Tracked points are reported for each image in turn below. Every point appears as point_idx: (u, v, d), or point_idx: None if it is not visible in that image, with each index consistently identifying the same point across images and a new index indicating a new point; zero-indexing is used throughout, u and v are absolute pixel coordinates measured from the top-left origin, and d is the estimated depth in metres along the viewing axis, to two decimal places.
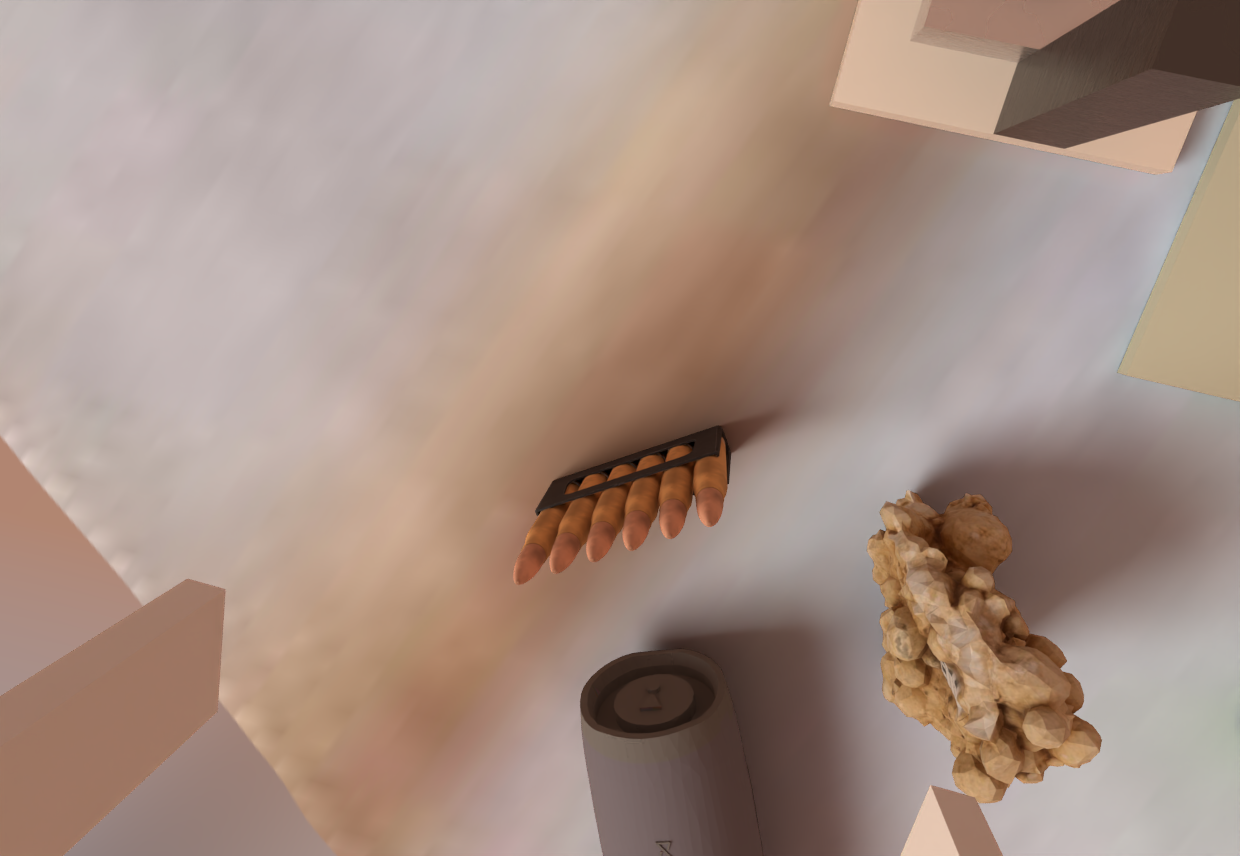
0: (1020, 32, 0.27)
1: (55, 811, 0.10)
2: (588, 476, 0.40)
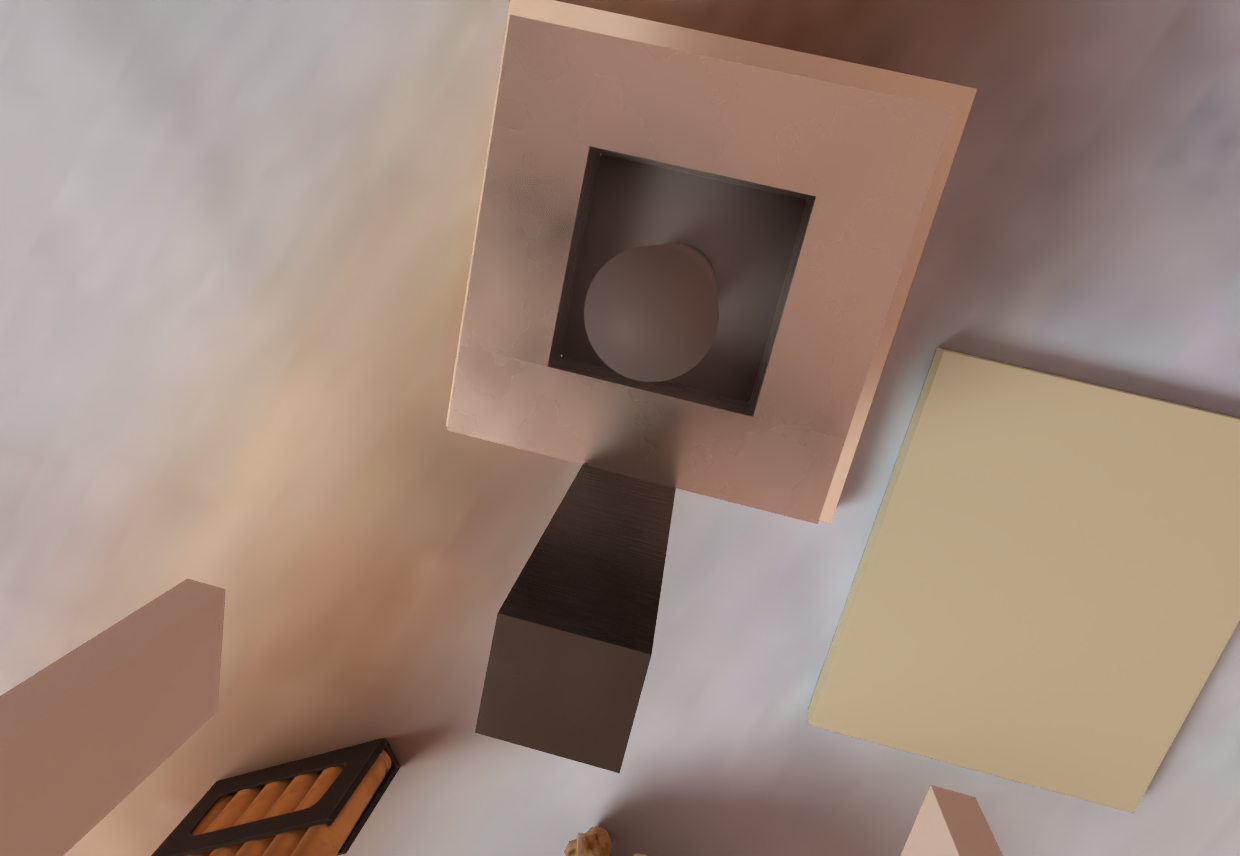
0: (558, 444, 0.22)
1: (55, 811, 0.10)
2: (239, 792, 0.35)
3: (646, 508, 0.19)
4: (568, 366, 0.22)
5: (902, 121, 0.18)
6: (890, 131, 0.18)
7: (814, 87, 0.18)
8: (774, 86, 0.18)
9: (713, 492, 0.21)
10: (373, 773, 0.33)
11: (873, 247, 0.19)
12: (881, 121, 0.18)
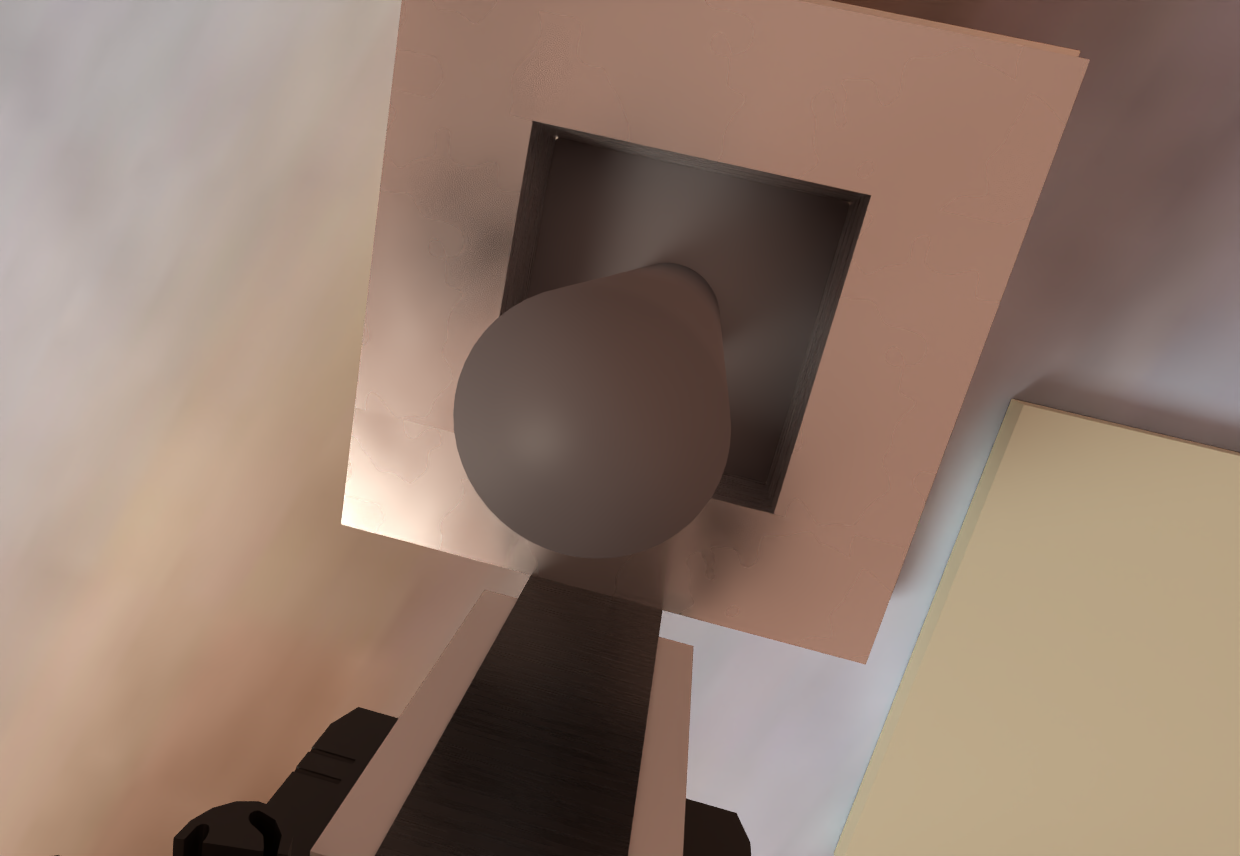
0: (496, 547, 0.15)
1: None
2: None
3: (616, 659, 0.13)
4: None
5: (1006, 80, 0.12)
6: (987, 95, 0.12)
7: (872, 29, 0.12)
8: (810, 27, 0.12)
9: (715, 618, 0.15)
10: None
11: (956, 271, 0.13)
12: (974, 81, 0.12)
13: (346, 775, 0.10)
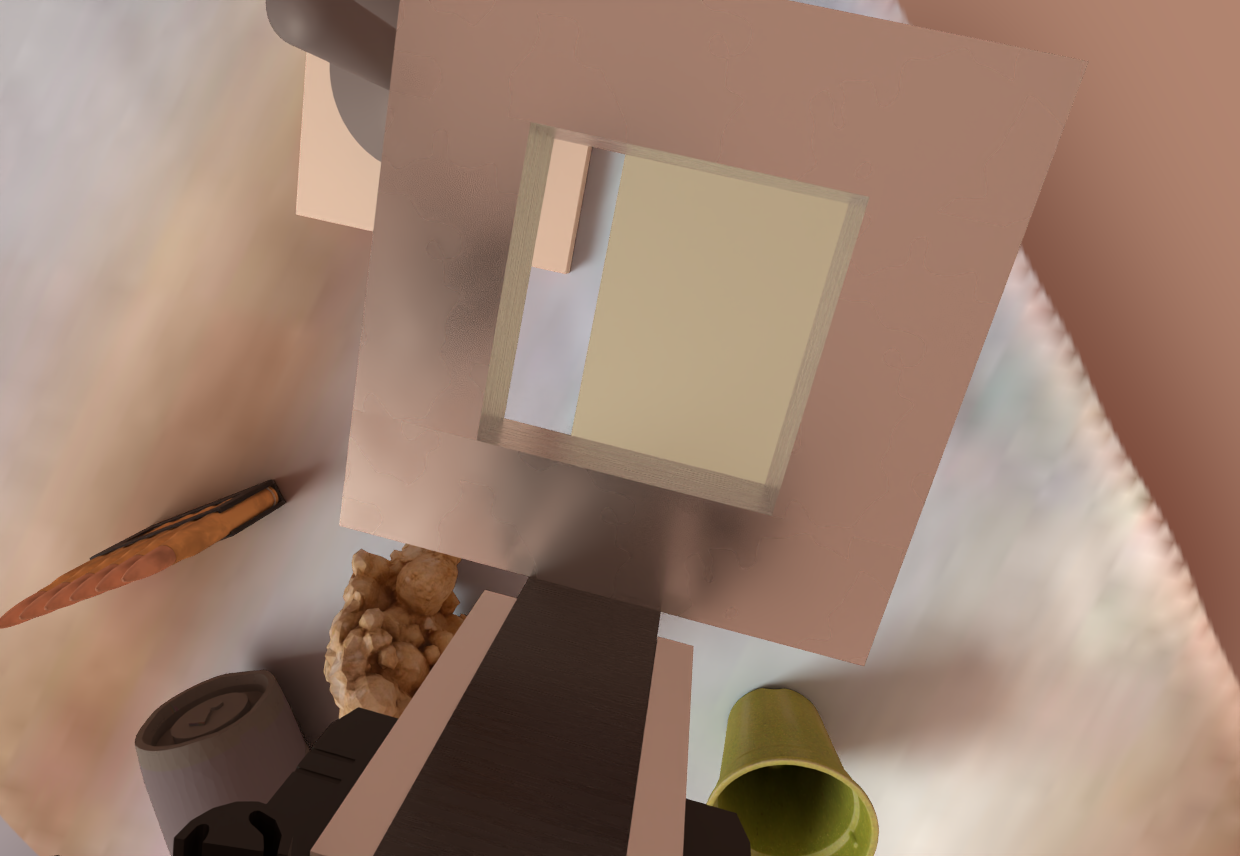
0: (494, 548, 0.15)
1: None
2: (164, 524, 0.46)
3: (614, 661, 0.13)
4: (509, 437, 0.15)
5: (1005, 81, 0.12)
6: (986, 96, 0.12)
7: (870, 30, 0.12)
8: (808, 29, 0.12)
9: (714, 620, 0.15)
10: (261, 497, 0.44)
11: (955, 273, 0.13)
12: (972, 82, 0.12)
13: (346, 775, 0.10)
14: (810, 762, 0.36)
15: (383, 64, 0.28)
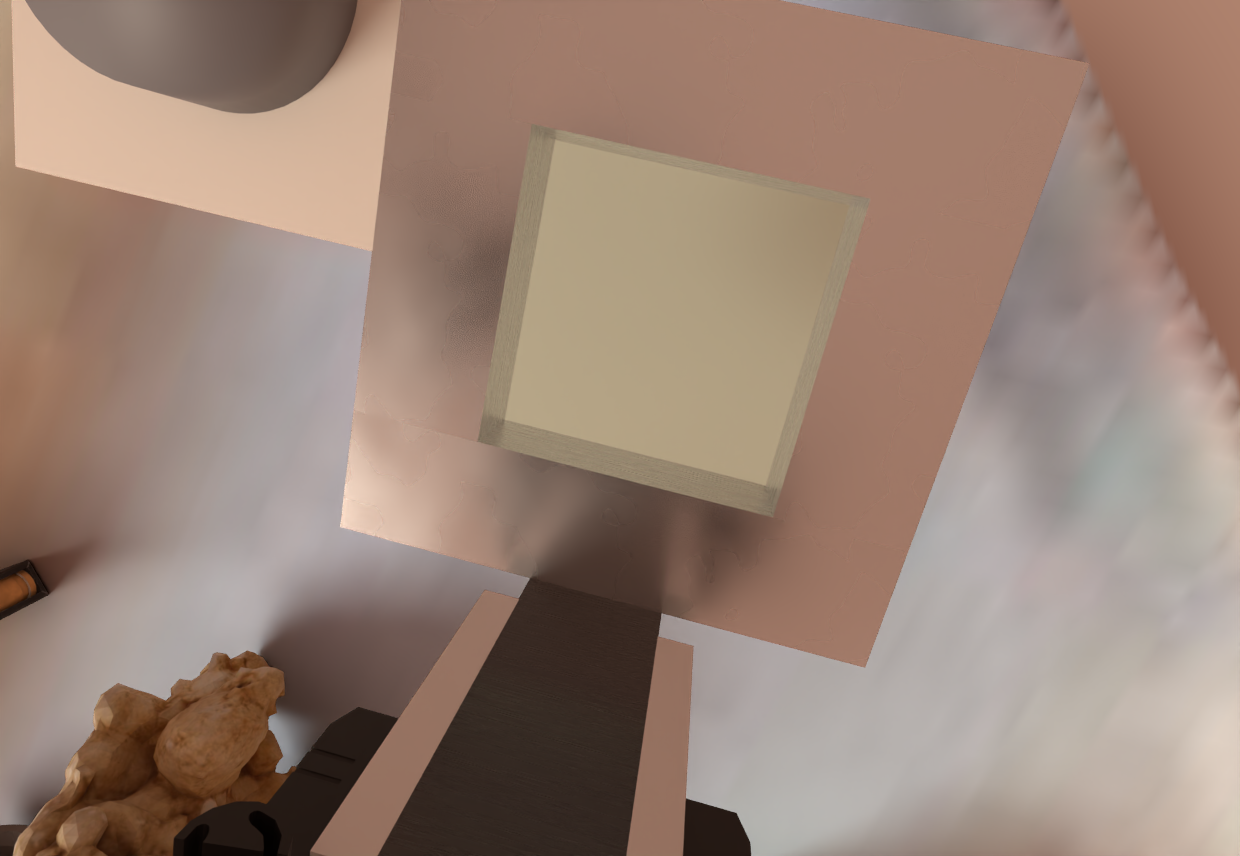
0: (495, 550, 0.15)
1: None
2: None
3: (615, 662, 0.13)
4: (510, 439, 0.15)
5: (1006, 84, 0.12)
6: (987, 98, 0.12)
7: (871, 32, 0.12)
8: (809, 31, 0.12)
9: (714, 621, 0.15)
10: None
11: (956, 275, 0.13)
12: (973, 84, 0.12)
13: (346, 775, 0.10)
14: None
15: None
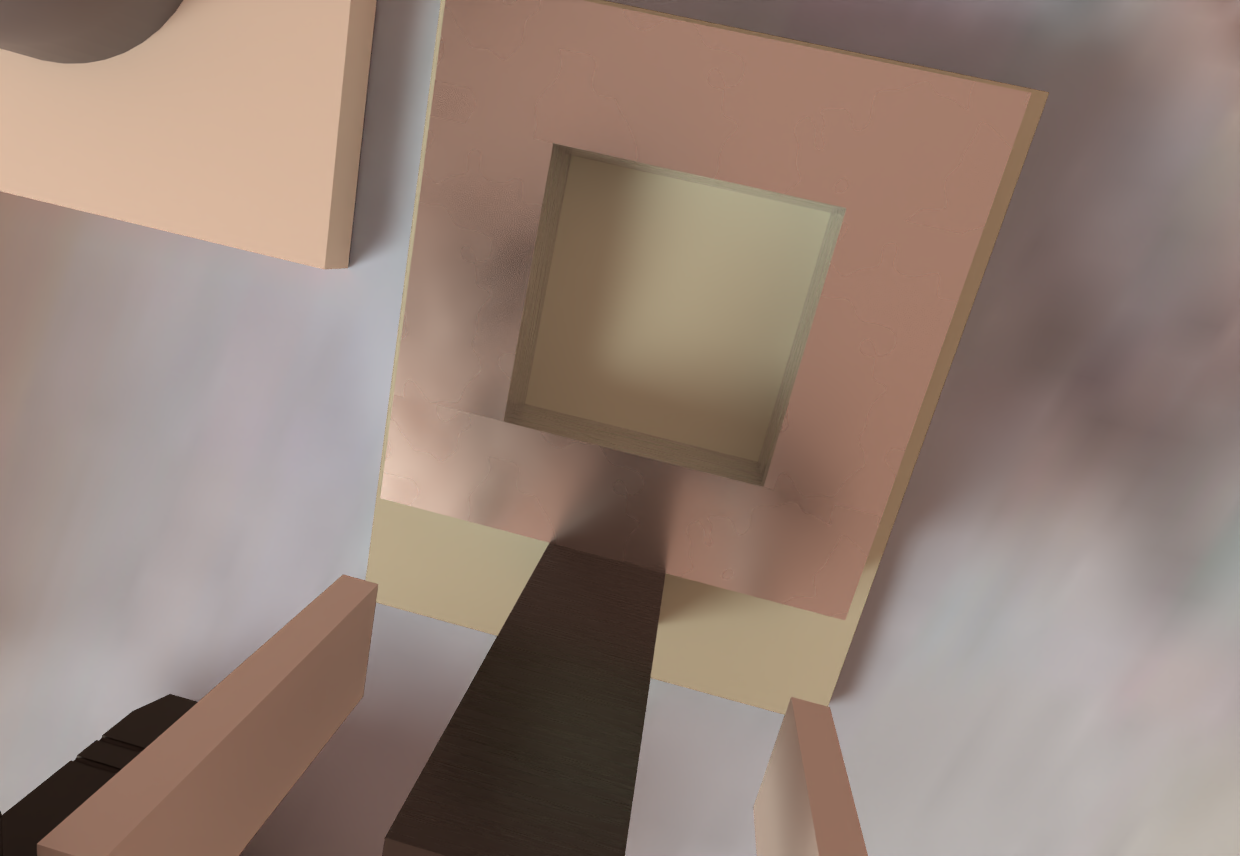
0: (518, 517, 0.17)
1: (266, 779, 0.11)
2: None
3: (626, 611, 0.15)
4: (531, 419, 0.17)
5: (961, 110, 0.14)
6: (945, 122, 0.14)
7: (846, 66, 0.14)
8: (792, 64, 0.14)
9: (712, 580, 0.17)
10: None
11: (920, 274, 0.15)
12: (933, 110, 0.14)
13: None
14: None
15: None
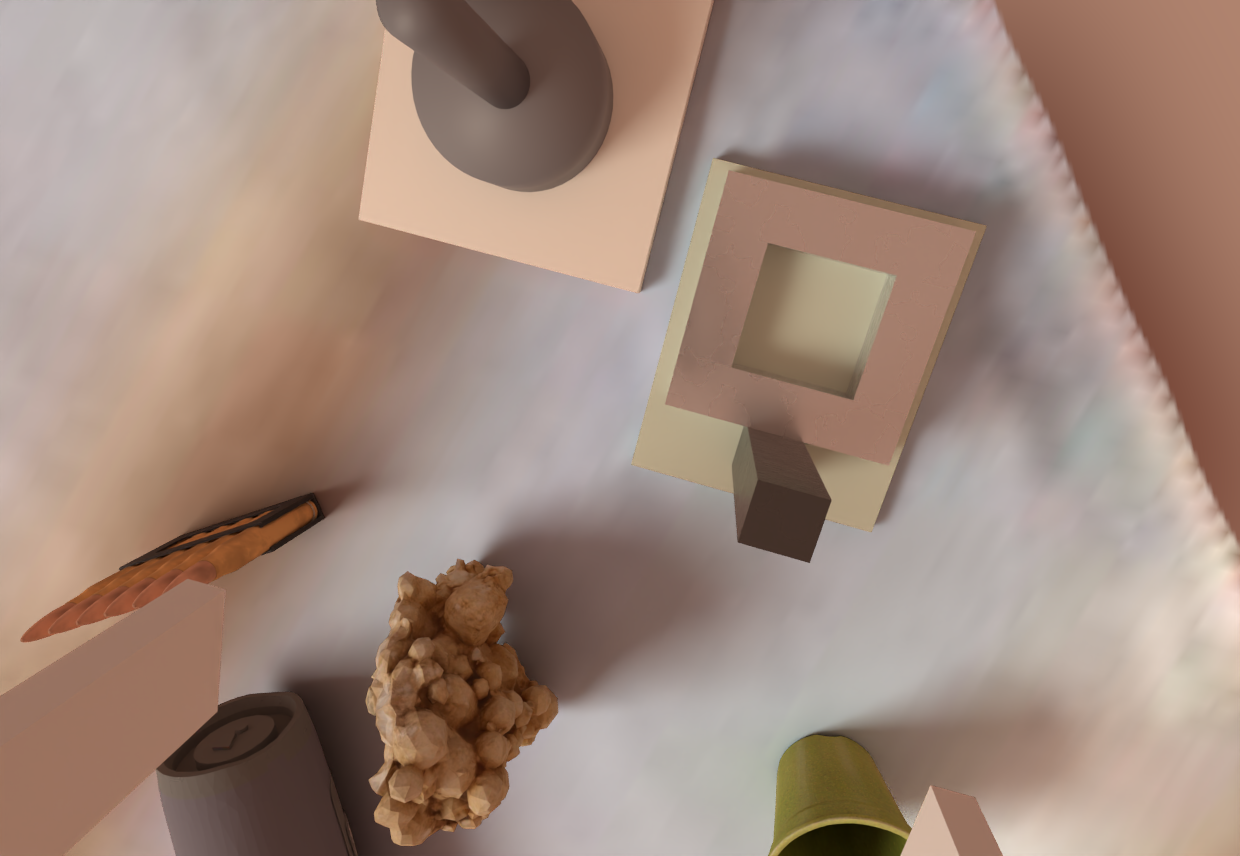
0: (733, 414, 0.36)
1: (55, 811, 0.10)
2: (196, 534, 0.44)
3: (794, 449, 0.34)
4: (740, 368, 0.36)
5: (946, 237, 0.33)
6: (940, 241, 0.33)
7: (898, 217, 0.33)
8: (876, 215, 0.33)
9: (826, 445, 0.36)
10: (301, 511, 0.42)
11: (928, 304, 0.33)
12: (935, 236, 0.33)
13: None
14: (881, 822, 0.34)
15: (483, 66, 0.26)
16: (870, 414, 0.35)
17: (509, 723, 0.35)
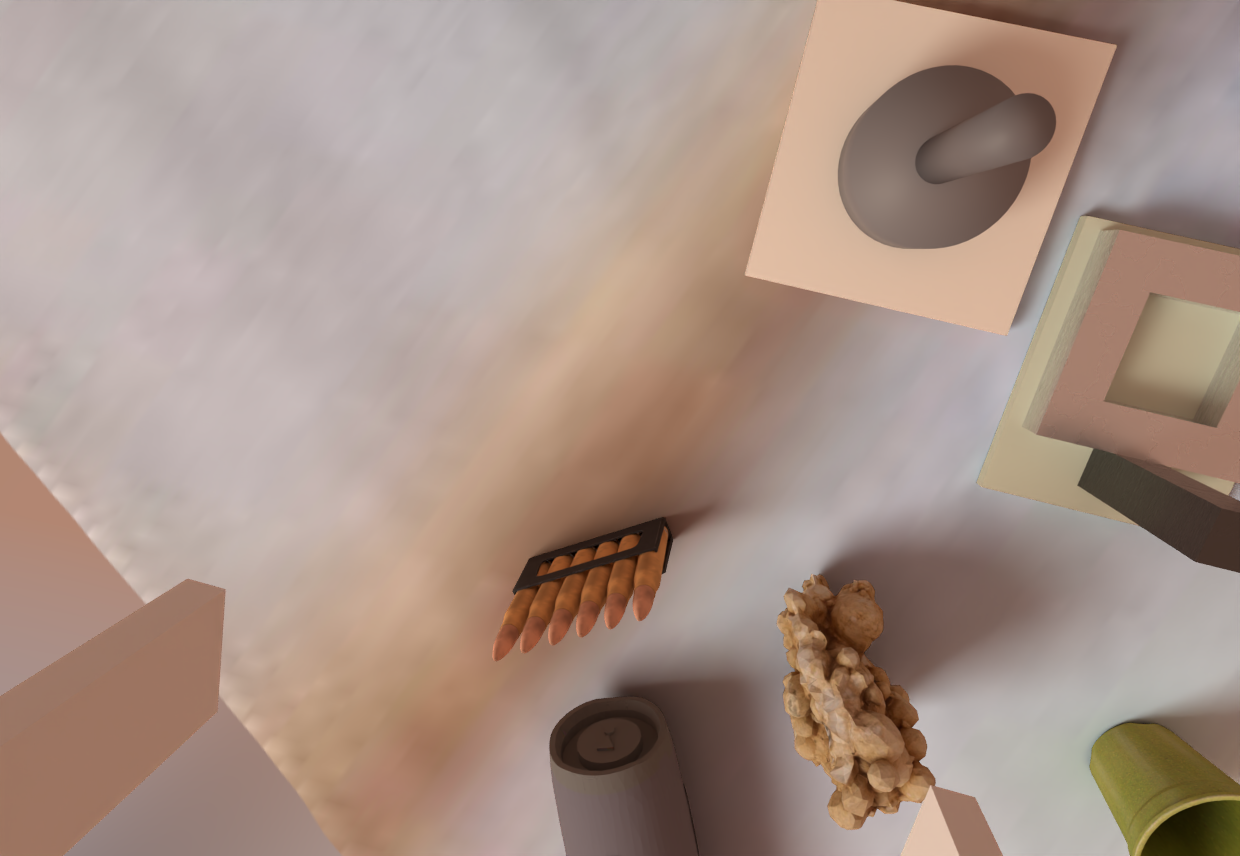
0: (1100, 442, 0.40)
1: (55, 811, 0.10)
2: (557, 557, 0.49)
3: (1177, 474, 0.38)
4: (1105, 400, 0.41)
5: None
6: None
7: None
8: None
9: (1186, 468, 0.40)
10: (664, 535, 0.47)
11: None
12: None
13: None
14: None
15: None
16: (1231, 440, 0.39)
17: (917, 720, 0.40)
